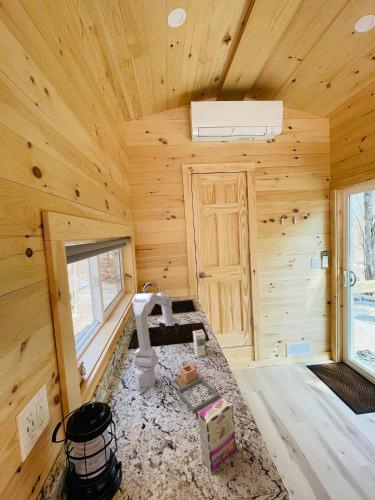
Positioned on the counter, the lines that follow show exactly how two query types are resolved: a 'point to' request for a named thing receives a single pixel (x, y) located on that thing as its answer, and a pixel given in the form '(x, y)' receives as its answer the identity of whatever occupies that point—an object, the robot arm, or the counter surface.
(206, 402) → the tray
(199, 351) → the syrup box
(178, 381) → the stake board
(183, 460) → the counter surface
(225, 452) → the candy bar box
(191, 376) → the collar
